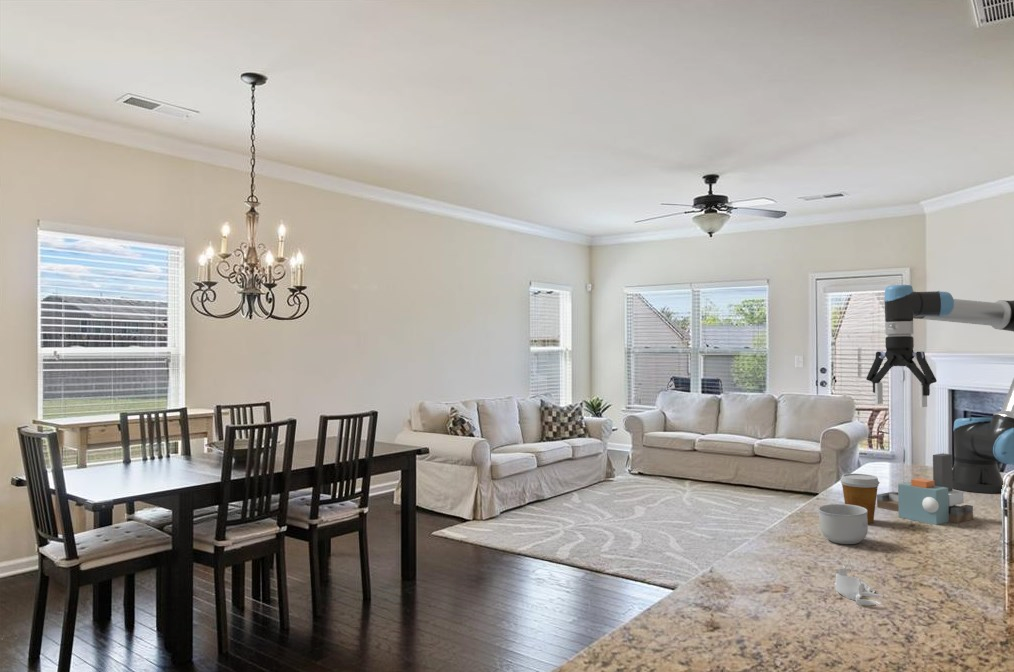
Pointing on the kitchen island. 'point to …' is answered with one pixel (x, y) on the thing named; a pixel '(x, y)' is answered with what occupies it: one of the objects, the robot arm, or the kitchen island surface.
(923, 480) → the button
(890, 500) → the rail board
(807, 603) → the kitchen island surface
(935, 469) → the carriage
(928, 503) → the cabinet
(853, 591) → the white figurine
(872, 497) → the disposable coffee cup
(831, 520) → the light gray bowl
